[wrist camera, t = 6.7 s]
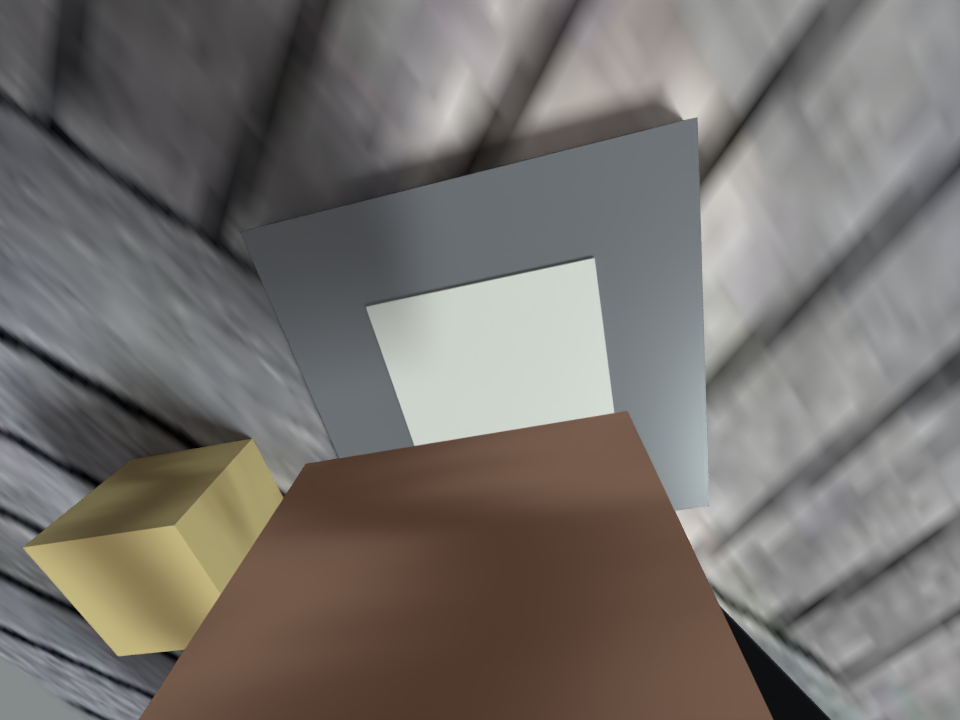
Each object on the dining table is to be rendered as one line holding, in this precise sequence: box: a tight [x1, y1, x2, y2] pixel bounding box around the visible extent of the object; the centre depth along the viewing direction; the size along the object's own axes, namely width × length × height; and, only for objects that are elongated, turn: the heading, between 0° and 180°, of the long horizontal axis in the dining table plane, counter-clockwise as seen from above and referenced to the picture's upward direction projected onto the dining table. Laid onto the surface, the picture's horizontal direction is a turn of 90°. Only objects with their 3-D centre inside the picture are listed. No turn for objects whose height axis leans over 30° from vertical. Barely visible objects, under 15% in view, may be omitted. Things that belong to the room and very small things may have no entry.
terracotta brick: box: [139, 411, 773, 720], centre depth 7 cm, size 6×6×5 cm
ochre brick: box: [23, 439, 283, 656], centre depth 18 cm, size 6×6×5 cm
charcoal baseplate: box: [240, 118, 709, 510], centre depth 16 cm, size 14×14×1 cm
